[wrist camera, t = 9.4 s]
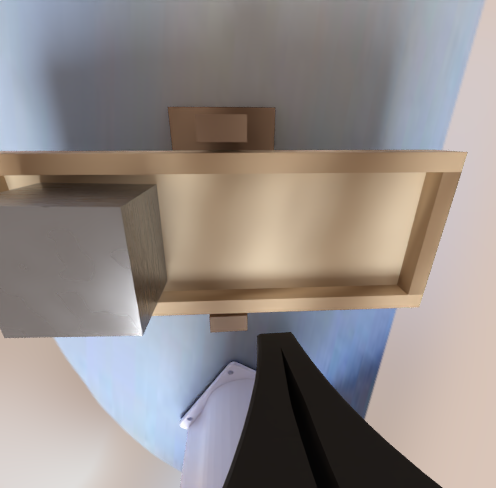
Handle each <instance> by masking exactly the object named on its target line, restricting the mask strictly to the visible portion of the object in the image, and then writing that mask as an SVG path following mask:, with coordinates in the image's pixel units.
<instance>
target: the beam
mask: <svg viewBox="0 0 496 488" xmlns="http://www.w3.org/2000/svg"><path fill="white" fill-rule="evenodd" d="M466 156H467V152H457V151H444V150H201V151H0V192H4V191H8V190H12V189H16V188H20V187H24V186H28V185H32V184H36V183H106V184H157V192H158V201H159V210H160V219H161V227H162V236H163V245H164V254H165V263H166V272H167V280H168V281H167V283H166V285H165V288H164V290H163V292H162V294H161V296H160V299H159V301H158V303H157V305H156V307H155V309H154V312H153V314H152V316H164V315H195V314H226V313H256V312H287V311H318V310H349V309H379V308H409V307H419V305H420V303H421V299H422V296H423V293H424V290H425V287H426V284H427V280H428V277H429V274H430V271H431V268H432V264H433V261H434V258H435V255H436V252H437V248H438V245H439V242H440V239H441V236H442V232H443V229H444V226H445V223H446V220H447V217H448V213H449V210H450V207H451V204H452V201H453V197H454V194H455V191H456V188H457V185H458V181H459V178H460V175H461V172H462V168H463V165H464V162H465V159H466Z"/></svg>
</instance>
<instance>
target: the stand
mask: <svg viewBox="0 0 496 488" xmlns="http://www.w3.org/2000/svg"><path fill="white" fill-rule="evenodd" d="M168 114H169V123H170V133H171V142H172V151H201V150H274V131H275V108H265V107H168ZM246 330H247V313H226V314H210V331H211V332H228V331H246Z"/></svg>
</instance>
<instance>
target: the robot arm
mask: <svg viewBox="0 0 496 488" xmlns="http://www.w3.org/2000/svg"><path fill="white" fill-rule="evenodd" d="M180 426H181V427H182V428H185V429H188V431H187V439H186V447H185V454H184V462H183V469H182V477H181V484H180V488H442V487H441V486H440V485H438V484H437V483H436V482H435V481H433V480H432V479H431V478H430V477H428V476H427V475H425V474H424V473H423V472H422V471H421V470H420V469H419V468H417V467H416V466H415V465H414V464H413V463H412V462H410V461H409V460H408V459H407V458H406V457H405V456H403V455H402V454H401V453H400V452H399V451H397V450H396V449H395V448H394V447H393V446H392V445H390V444H389V443H388V442H387V441H386V440H385V439H384V438H383V437H382V436H381V435H380V434H378V433H377V432H376V431H375V430H374V429H373V428H372V427H371V426H370V425H369V424H368V423H367V422H366V421H365V420H364V419H363V418H362V417H361V416H360V415H359V414H358V413H357V412H356V411H355V410H354V409H353V408H352V407H351V406H350V405H349V404H348V403H347V402H346V401H345V400H344V399H343V397H342V396H341V395H340V394H339V393H338V392H337V391H336V390H335V389H334V387H333V386H332V385H331V384H330V383H329V382H328V380H327V379H326V378H325V377H324V376H323V374H322V373H321V372H320V371H319V369H318V368H317V367H316V366H315V364H314V363H313V362H312V361H311V359H310V358H309V357H308V355H307V354H306V353H305V351H304V350H303V348H302V347H301V346H300V344H299V343H298V341H297V340H296V338H295V337H294V335H293V334H292V333H291V332H285V333H268V334H259V335H258V336H257V369H256V371H255V370H253V369H251V368H248V367H246V366H244V365H242V364H240V363H237V362H230V363H229V364H228V365H227V366H226V368H225V369H224V370H223V371H222V372H221V373H220V375H219V376H218V377H217V378H216V379H215V380H214V382H213V383H212V384H211V385H210V386H209V387H208V389H207V390H206V391H205V392H204V393H203V394H202V396H201V397H200V398H199V399H198V400H197V401H196V403H195V404H194V405H193V406H192V407H191V408H190V410H189V411H188V412H187V413H186V414H185V415H184V417H183V418H182V419H181V420H180Z"/></svg>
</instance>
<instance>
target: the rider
mask: <svg viewBox="0 0 496 488" xmlns="http://www.w3.org/2000/svg"><path fill="white" fill-rule="evenodd" d="M167 281H168V280H167V272H166V263H165V254H164V245H163V236H162V227H161V219H160V210H159V201H158V192H157V184H106V183H36V184H32V185H28V186H24V187H20V188H16V189H12V190H8V191H4V192H0V329H1V331H2V333H3V335H4V338H23V337H24V338H26V337H27V338H28V337H29V338H30V337H88V336H143V334H144V331H145V329H146V327H147V325H148V323H149V320H150V318H151V316H152V314H153V312H154V309H155V307H156V305H157V303H158V301H159V299H160V296H161V294H162V292H163V290H164V288H165V285H166V283H167Z"/></svg>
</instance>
